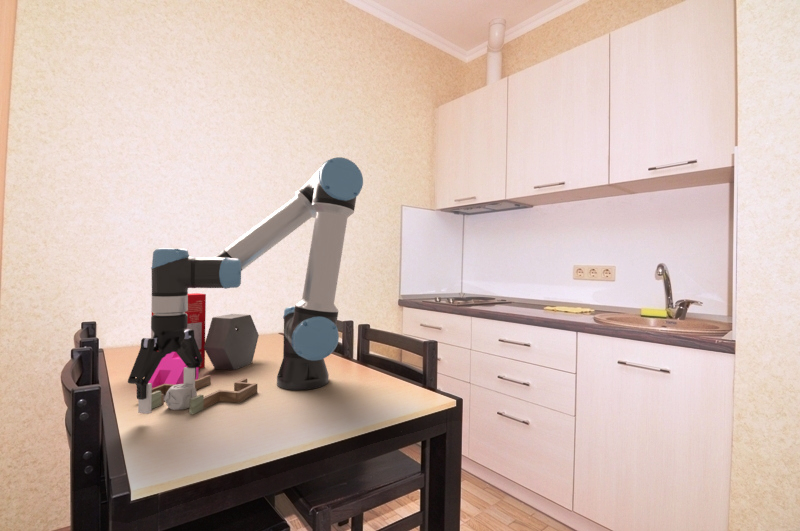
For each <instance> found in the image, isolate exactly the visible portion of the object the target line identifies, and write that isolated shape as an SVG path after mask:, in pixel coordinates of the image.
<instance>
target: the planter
mask: <svg viewBox="0 0 800 531" xmlns="http://www.w3.org/2000/svg"><path fill="white" fill-rule="evenodd" d="M259 336H260V335H259V332H258V330H257V327H256V325H255V322H254V320H253V318H252V315H251V314H243V313H241V314H240V313H230V314H224V315H218V316H217V315H216V316H213V317H212V318H211V322H210V325H209V328H208V331H207V336H206V337H205V345H204V349H205V354H206V355H207V357H208V358H209V361H210V362H211V365H212V366H213V369H220V370H229V371H230V370H231V371H236V370H238V369H241V368H243V367H245V366H248V365H250V364H253V361H254V357H255V352H256V349H257V344H258V340H259Z"/></svg>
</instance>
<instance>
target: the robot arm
mask: <svg viewBox="0 0 800 531" xmlns="http://www.w3.org/2000/svg"><path fill="white" fill-rule="evenodd" d="M363 186H364V177H363V173H362V172H361V169H360V168H359V166H358V165H357V164H356V163H355V162H354V161H352V160H350V159H348V158H345V157H334V158H330V159H327V160H326V161H324V162H323V163H322V164H321V166H320V167H319V168H318V169H317V171H315V173H314V174H313V175H312V176H311V178H310V179H309V180H308V181H307V182H306V183H305V184H304V185H302V187H300V188H299V189H298V190H296V191H295V195H294V197H293V198H292V199H290V200H289V201H288V202H286V203H285V204H284V205H282V206H281V207H279V208H278V209H277V210H275V211H274V212H273V213H271V214H270V215H268V216H267V217H266V218H264V219H263V220H262V221H261V222H259V223H258V224H256V225H255V226H253V227H252V228H251V229H250V230H249V231H247V232H246V233H244V234H243V235H242V236H240V237H238V239H236V240H235V241H234V242H232V243H231V244H230V245H228V246H227V247H226V248H224V249H223V250H221V251H220V252H219V253H217V254H216V255H214V256H213V257H193V256H190V255H189V250H188V249H186V248H162V247H158V248H156V249H155V250H154V251H153V252H152V260H151V261H152V262H151V267H150V269H151V311H150V312H151V313H152V312H153V313H155V314H154V315H152V314H151V316H150V317H151V318H150V331H151V330H152V331H153V332H154V337H153V338H151V337H143V338H141V339H140V340H141V341H140V349H139V351H138V354H137V356H136V359H135V361H134V364H133V366H132V369H131V372H130V373H129V377H128V379H127V383H128V384H130V385H131V384H134V385H136V399H137V400H138V401H137V405H138V406H137V412H138V413H140V414H145V415H146V414H147V415H149V414H151V413H152V409H151V399H152V383H148V382H149V381H150V379H151V377H152V375H153V374H154V372H155V370H156V368H157V367H158V365H159V363H160V361H161V360H162V358H163V357H165V356H166V354H170V353H172V352H176V353H177V354H178V355H179V357H180V358H181V359H182V360H183V362H184V363H185V364H186V366H188V367H185V368H184V384H192V385H193V386H194V387H195V379H196V367H200V363H202V361H203V359H202V356H201V354H200V351H199V348H198V346H197V343H196V340H195V338H194V330H190V329H186V328H187V317H188V315H187V314H186V313H185V312H186V311H188V294H189V289H227V290H228V289H233V288H235V289H237V288H239V287H240V286H241V284H242V271H243V270H245V269H246V268H247V267H249V266H250V265H251V264H252V263H254V262H255V261H257V260H258V259H259V258H260V257H262V256H263V255H264V254H265V253H267V252H268V251H269V250H271V249H272V248H273V247H275V246H276V245H277V244H279V243H280V242H281V241H283V240H284V239H285V238H286V237H288V236H289V235H291V233H293V232H294V231H296V230H297V229H298V228H300V227H301V226H302V225H303V224H305V223H306V222H307V221H308V220H310V219H312V218H314V225H313V230H312V236H311V237H312V238H311V241H310V242H311V243H310V250H309V253H308V254H309V256H308V259H307V260H308V261H307V268H306V274H305V280H304V285H303V292H302V298H301V300H299V301H298V302H297V303H295V304H294V306H288V307H286V308H284V312H283V317H282V318H283V348H282V349H283V356H282V361H281V363H280V366H279V369H278V372H277V376H276V385H277V387H279V388H281V389H284V390H294V391H305V390H314V389H318V388H321V387H325V386H326V385H327V384H328V383H329V380H330V379H329V370H328V368H327V365H326V362H325V359H326V358H327V357H329V356H330V355H331V354H332V353H334V351H335V350H336V348H337V346H338V343H339V339H340V338H339V337H340V335H339V334H340V333H339V329H338V327H337V323H338V316H339V309H338V308H337V307H336V305H335V299H336V293H337V288H338V282H339V281H338V280H339V273H340V268H341V261H342V255H343V254H342V253H343V248H344V242H345V235H346V228H347V225H348V218H349V217H350V216H352V215H353V214H355V208H356V203H357V202H356V201H357V197H358V196H359V194H360V193H361V190H362V189H363ZM157 351H159V352H157Z"/></svg>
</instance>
